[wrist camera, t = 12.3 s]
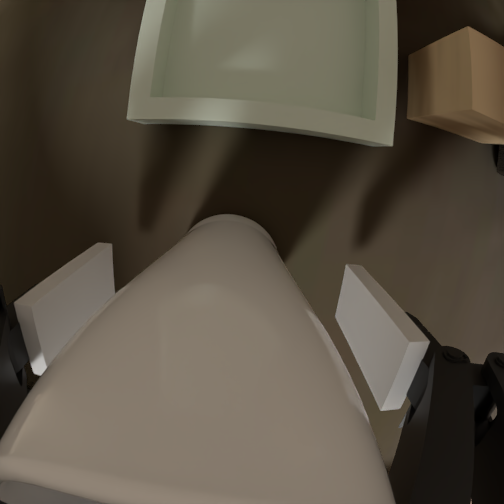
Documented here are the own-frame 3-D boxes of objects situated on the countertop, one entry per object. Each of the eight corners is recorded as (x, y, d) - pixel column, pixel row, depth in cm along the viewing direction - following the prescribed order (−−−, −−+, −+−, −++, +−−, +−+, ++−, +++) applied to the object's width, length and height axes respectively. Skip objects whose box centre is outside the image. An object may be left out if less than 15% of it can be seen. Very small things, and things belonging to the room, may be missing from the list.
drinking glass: (260, 176, 16) (392, 395, 1) (309, 289, 17) (414, 561, 3) (145, 231, 16) (-70, 447, 2) (202, 331, 18) (151, 591, 4)
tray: (144, 124, 15) (126, 119, 12) (177, -53, 11) (169, -75, 9) (372, 146, 15) (392, 146, 13) (376, -30, 12) (391, -48, 9)
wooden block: (406, 118, 15) (472, 109, 9) (407, 55, 14) (468, 26, 8) (480, 143, 15) (547, 148, 9) (481, 86, 14) (545, 76, 8)
